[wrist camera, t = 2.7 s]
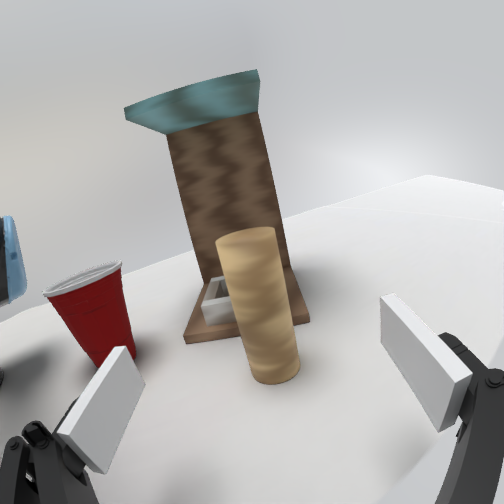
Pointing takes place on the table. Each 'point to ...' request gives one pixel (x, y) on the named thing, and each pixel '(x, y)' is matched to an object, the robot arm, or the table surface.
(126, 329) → the plastic cup
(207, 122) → the awning stand
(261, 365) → the peg
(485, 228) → the table surface
